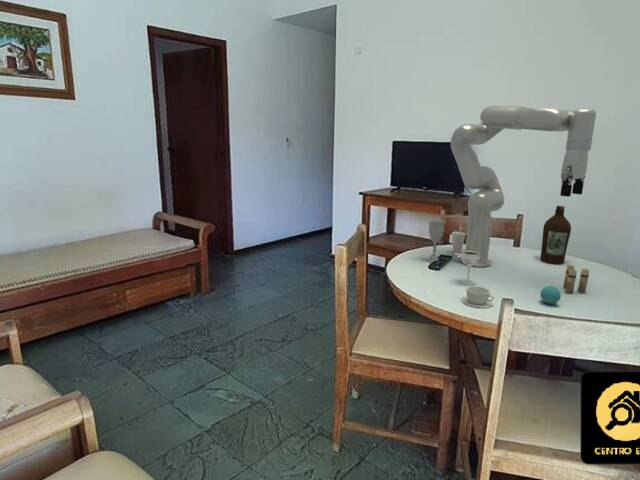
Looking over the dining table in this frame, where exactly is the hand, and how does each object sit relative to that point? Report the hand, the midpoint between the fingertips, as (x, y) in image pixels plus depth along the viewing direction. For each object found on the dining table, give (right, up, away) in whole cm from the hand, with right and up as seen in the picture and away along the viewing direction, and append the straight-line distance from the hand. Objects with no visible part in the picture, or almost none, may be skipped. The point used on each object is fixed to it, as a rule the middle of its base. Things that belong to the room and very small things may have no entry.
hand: (571, 195), depth 153 cm
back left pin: (+1, -34, +5) cm, 34 cm away
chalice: (-40, -26, +35) cm, 59 cm away
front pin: (0, -35, 0) cm, 35 cm away
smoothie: (-25, -23, +49) cm, 59 cm away
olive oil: (+14, -26, +38) cm, 48 cm away
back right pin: (+4, -35, +1) cm, 35 cm away
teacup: (-37, -38, -9) cm, 54 cm away
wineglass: (-34, -32, +9) cm, 48 cm away
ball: (-13, -35, -10) cm, 38 cm away
